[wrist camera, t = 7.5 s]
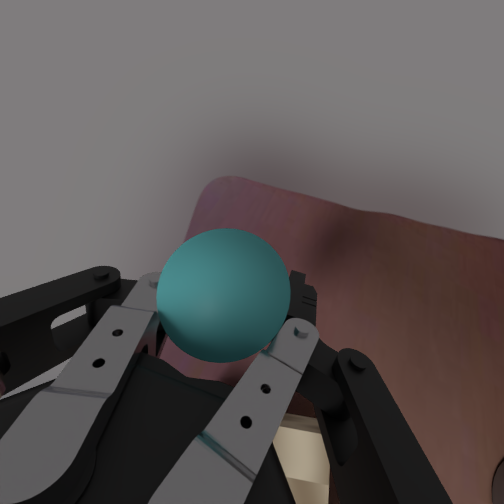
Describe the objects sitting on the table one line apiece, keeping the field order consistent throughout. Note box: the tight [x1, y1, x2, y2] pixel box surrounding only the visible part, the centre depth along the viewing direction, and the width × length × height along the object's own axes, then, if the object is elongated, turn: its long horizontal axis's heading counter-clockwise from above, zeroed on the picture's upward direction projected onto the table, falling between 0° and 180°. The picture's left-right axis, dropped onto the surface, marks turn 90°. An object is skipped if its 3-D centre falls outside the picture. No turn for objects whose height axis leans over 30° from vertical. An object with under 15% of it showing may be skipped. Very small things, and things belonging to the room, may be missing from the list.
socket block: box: [273, 413, 330, 504], centre depth 22 cm, size 12×12×5 cm
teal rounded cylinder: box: [156, 228, 291, 363], centre depth 12 cm, size 4×4×10 cm
